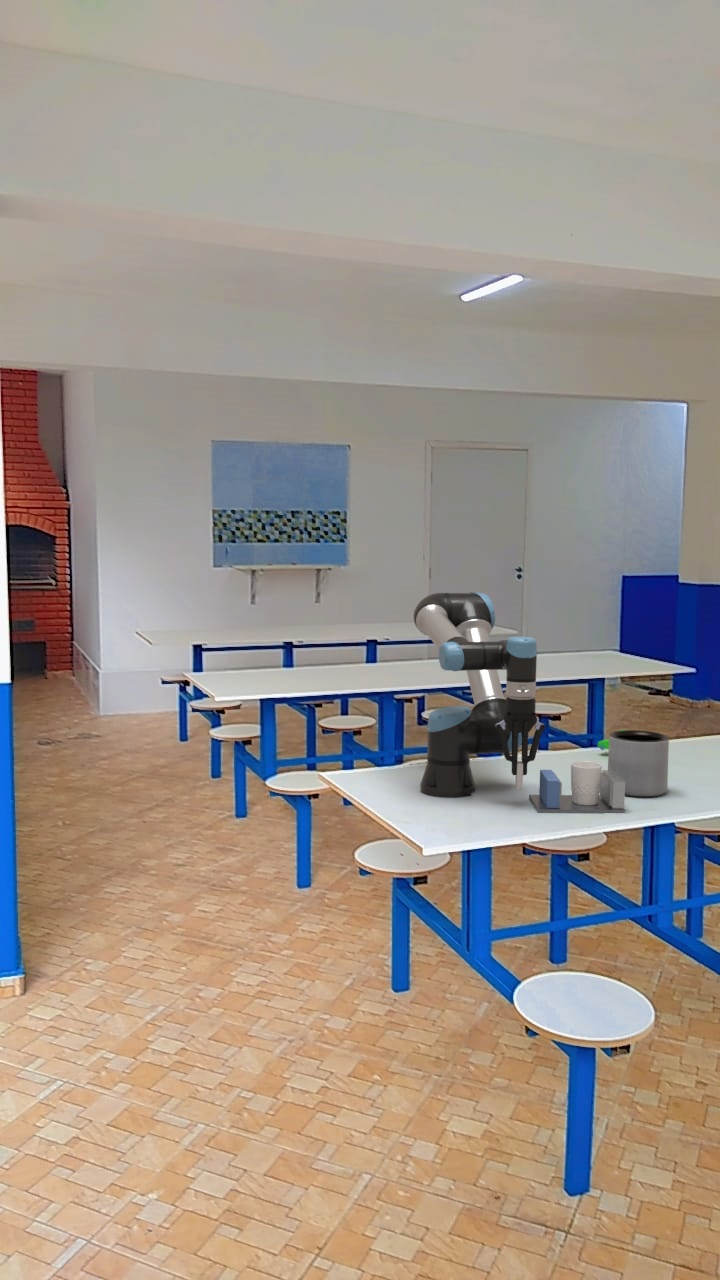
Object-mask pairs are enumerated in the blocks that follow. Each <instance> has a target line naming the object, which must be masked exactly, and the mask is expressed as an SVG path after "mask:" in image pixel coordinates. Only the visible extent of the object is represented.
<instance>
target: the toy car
mask: <svg viewBox="0 0 720 1280" xmlns="http://www.w3.org/2000/svg"><path fill="white" fill-rule="evenodd" d="M623 730H624V729H620V730H619V731H623ZM597 748H598V749H600V750H601V751H605V750H609V738H608V739H607V738H606V739H602V740H600V741H597Z"/></svg>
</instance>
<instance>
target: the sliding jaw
mask: <svg viewBox="0 0 720 1280" xmlns="http://www.w3.org/2000/svg"><path fill="white" fill-rule="evenodd" d="M562 785H563V783H562V781H561V779H560V778H559V777H558V775H557V774H556V773H555V772H554V771H553V769H540V770H539V790H538V791H539V792H538V793H539V794H538V795H539V796H540V797H541V799H542V800H543V802H544V804H545V805H546V807H547V808H559V806H561V795H562V790H563V789H562Z"/></svg>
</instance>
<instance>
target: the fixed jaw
mask: <svg viewBox="0 0 720 1280" xmlns="http://www.w3.org/2000/svg"><path fill="white" fill-rule="evenodd" d="M599 795H600V796H601V797H602V798H603V799H604V800H605V801H606V803H607V804H608V805H609V806H611V808H612V809H625V801H626V800H625V797H626V795H625V781H624V780H623V779H622V778H621V777H620V776H619V775H618V774H617V773H616V772H615V771H614V770H608V769H605V770H603V769H602V771H601V784H600V793H599Z"/></svg>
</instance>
